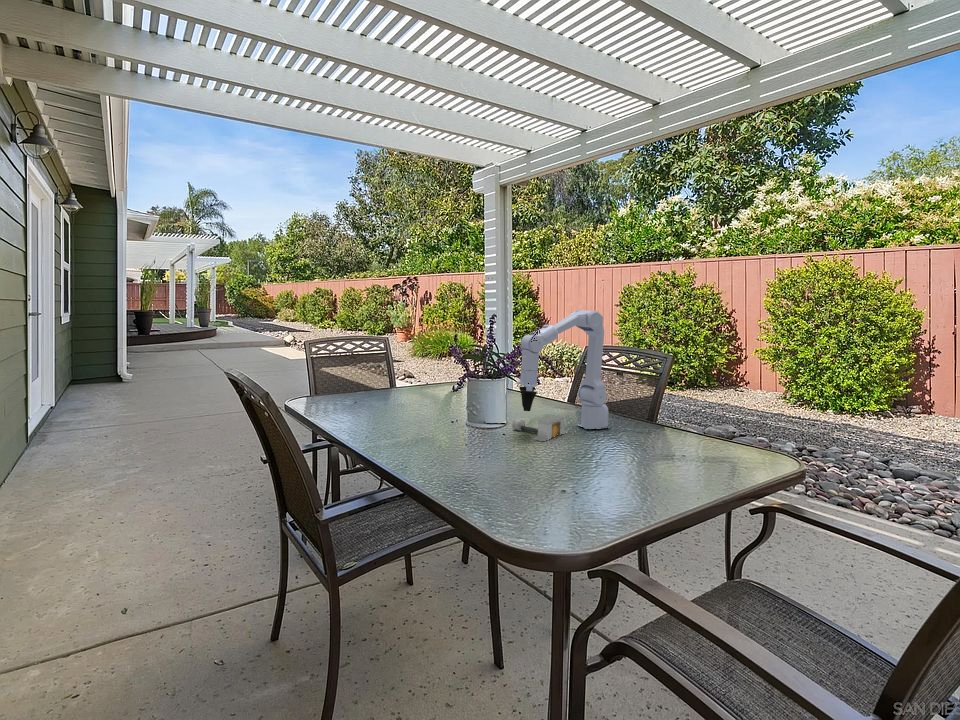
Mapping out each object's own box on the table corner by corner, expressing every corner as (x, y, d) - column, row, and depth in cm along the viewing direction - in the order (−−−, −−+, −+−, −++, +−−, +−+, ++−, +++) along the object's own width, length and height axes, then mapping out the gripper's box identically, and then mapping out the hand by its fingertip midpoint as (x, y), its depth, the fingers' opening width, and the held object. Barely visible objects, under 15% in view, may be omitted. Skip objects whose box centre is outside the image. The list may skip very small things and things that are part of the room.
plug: (511, 430, 199) (512, 419, 199) (518, 428, 203) (518, 417, 202) (551, 438, 189) (551, 426, 189) (557, 436, 193) (558, 424, 192)
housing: (533, 440, 187) (534, 421, 186) (557, 431, 199) (557, 414, 199) (544, 442, 185) (544, 423, 184) (566, 433, 197) (567, 415, 196)
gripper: (516, 366, 196) (513, 404, 198) (518, 371, 182) (515, 411, 183) (536, 368, 196) (533, 406, 197) (540, 373, 182) (536, 413, 183)
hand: (526, 409), depth 190 cm, fingers open, 7 cm apart
